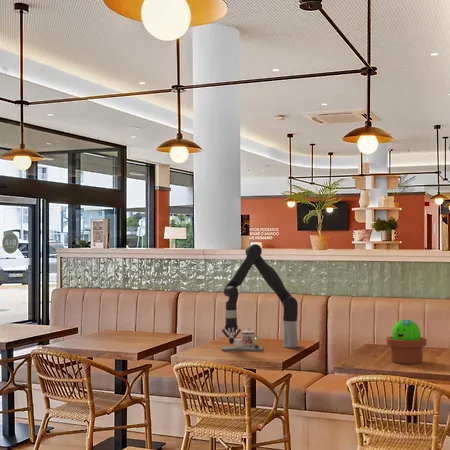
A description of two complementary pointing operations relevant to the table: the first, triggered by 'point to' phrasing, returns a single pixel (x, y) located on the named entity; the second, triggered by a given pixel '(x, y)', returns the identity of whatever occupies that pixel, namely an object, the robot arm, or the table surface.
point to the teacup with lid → (248, 337)
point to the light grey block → (238, 343)
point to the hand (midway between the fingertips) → (231, 343)
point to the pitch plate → (244, 347)
